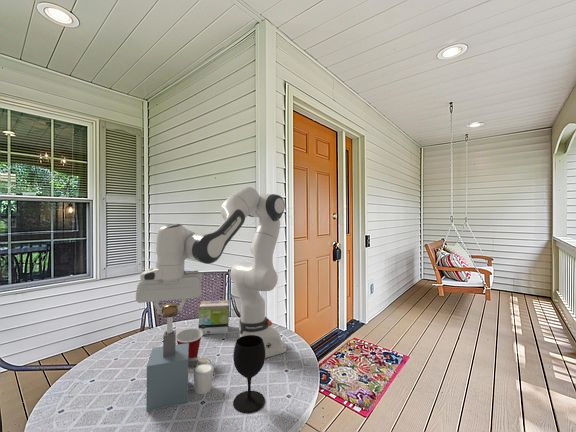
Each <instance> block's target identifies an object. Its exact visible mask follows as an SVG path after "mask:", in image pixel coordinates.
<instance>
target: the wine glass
mask: <svg viewBox="0 0 576 432" xmlns="http://www.w3.org/2000/svg"><path fill="white" fill-rule="evenodd" d="M239 337H240V336H239ZM239 337H238V338H237V339H236V341H235V345H234V348H233V355H232V356H233V357H232V358H233V359H232V360H233V364H234V368H235V370H236V371H237V373H238V374H240V375H241V376H242V377H244V378H246V381H247V390H245V391H244V390H243V391H242V392H239V393H238V394H237V395H236V396H235V397H234V398H233V402H232V405H233V408H234V409H235V410H236V411H237V412H239V413H242V414H252V413H256V412H258V411H259V410H261V409H262V408H263V407H264V405H265V402H266V400H265V396H264V395H263V394H262V393H261V392H259V391H257V390H252V389H251V386H252V378H254V377H256V376H257V375H258V374H259V373H260V372H261V371H262V369H263V367H264V365H265V361H266V358H265V346H264V342H263V339H262V338H261V337H259V336H256V335H246V336H242V337H240V338H239Z"/></svg>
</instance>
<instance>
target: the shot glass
mask: <svg viewBox="0 0 576 432" xmlns="http://www.w3.org/2000/svg"><path fill="white" fill-rule="evenodd" d="M213 375H214V365H212V364H211V363H201V364H197V368H193V382H194V392H195V393H196V394H199V395H200V394H203V395H204V394H206V393H208V392H210V390H211V389H212V386H213V385H212V384H213Z"/></svg>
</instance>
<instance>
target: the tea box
mask: <svg viewBox="0 0 576 432" xmlns="http://www.w3.org/2000/svg"><path fill="white" fill-rule="evenodd" d="M229 316H230V300H229V299H226V300H224V299H223V300H221V299H219V300H201V301H200V304H199V307H198V329H199V330H201V331H202V332H203V335H216V334H217V335H219V334H220V335H221V334H228V333H229V325H230V324H229V323H230V322H229V320H230V319H229Z"/></svg>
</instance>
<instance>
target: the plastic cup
mask: <svg viewBox="0 0 576 432" xmlns="http://www.w3.org/2000/svg"><path fill="white" fill-rule="evenodd" d="M203 335H204V334H203V332H202V331H201V330H199V328H192V327H191V328H186V329H183V330H180V331H178V332H177V333H176V343H177V345H178V344H185V343H189V358H195V357H197V358H198V354H199V350H200V346H201V345H200V344H201V340H202V337H203Z"/></svg>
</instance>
